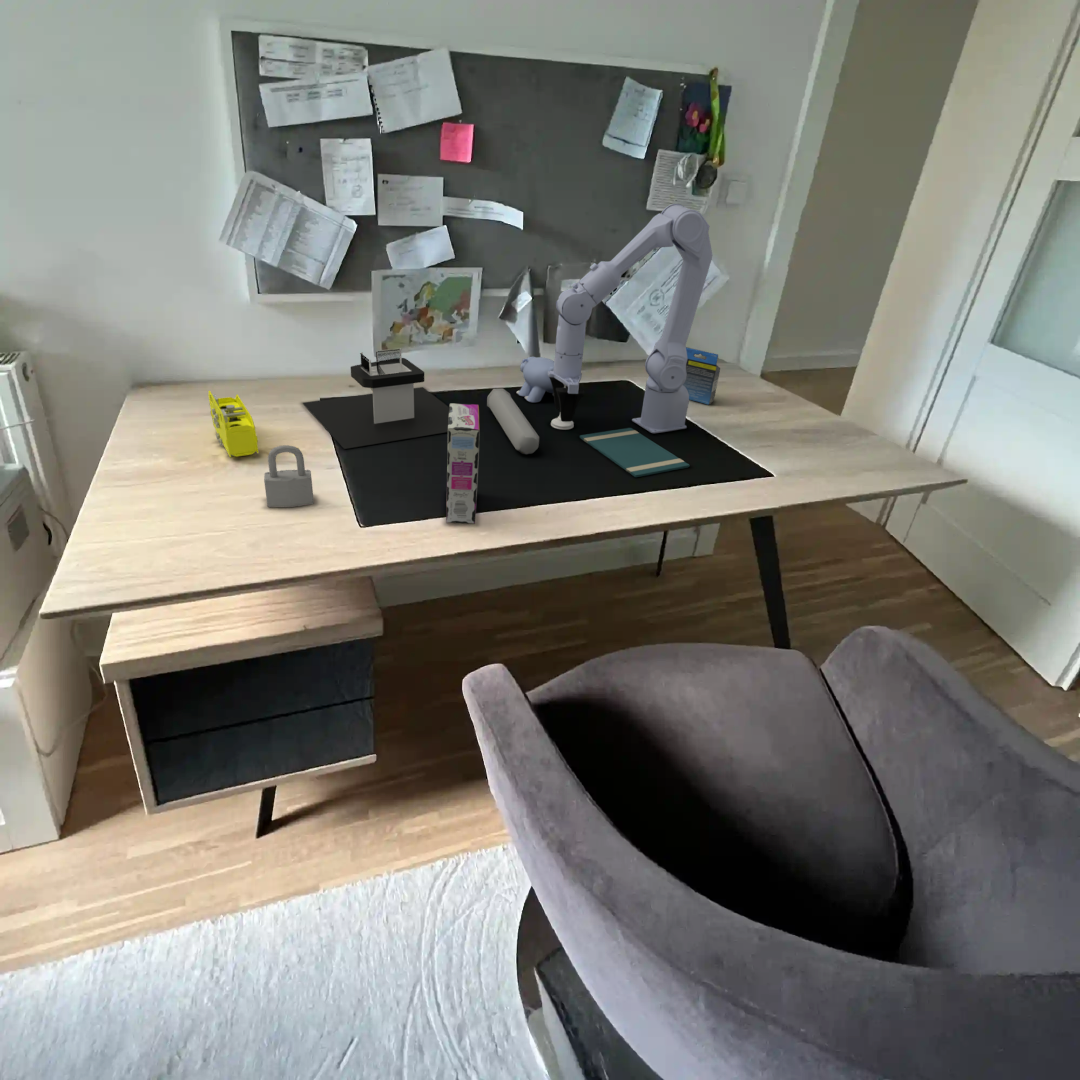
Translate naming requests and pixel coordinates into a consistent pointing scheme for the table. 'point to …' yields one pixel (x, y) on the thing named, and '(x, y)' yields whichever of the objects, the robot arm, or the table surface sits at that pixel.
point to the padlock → (288, 481)
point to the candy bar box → (462, 463)
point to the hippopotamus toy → (536, 378)
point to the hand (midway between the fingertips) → (563, 414)
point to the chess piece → (561, 422)
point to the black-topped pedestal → (382, 405)
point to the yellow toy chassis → (233, 425)
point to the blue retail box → (701, 376)
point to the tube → (513, 421)
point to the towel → (634, 452)
